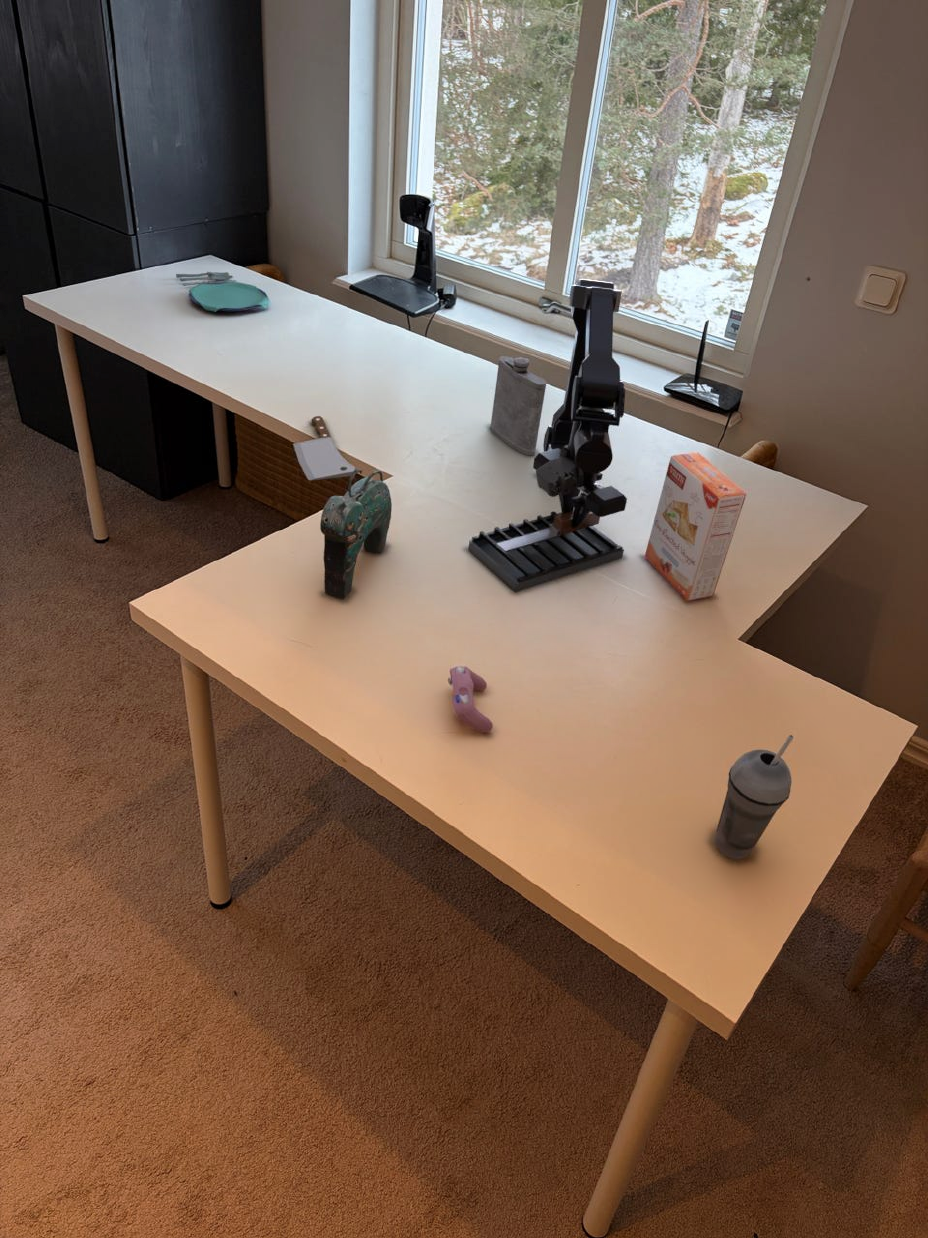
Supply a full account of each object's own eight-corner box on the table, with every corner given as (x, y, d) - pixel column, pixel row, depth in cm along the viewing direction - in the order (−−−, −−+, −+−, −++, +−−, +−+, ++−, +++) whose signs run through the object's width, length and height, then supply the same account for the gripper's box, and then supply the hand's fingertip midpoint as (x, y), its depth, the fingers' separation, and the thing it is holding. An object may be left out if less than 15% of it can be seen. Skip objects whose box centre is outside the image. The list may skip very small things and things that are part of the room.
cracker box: (641, 557, 170) (669, 453, 158) (669, 553, 172) (699, 450, 160) (685, 603, 160) (718, 495, 148) (714, 597, 163) (749, 491, 150)
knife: (590, 517, 171) (593, 504, 170) (599, 524, 170) (602, 511, 168) (496, 544, 161) (498, 530, 159) (505, 552, 159) (507, 538, 158)
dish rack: (573, 519, 178) (575, 504, 176) (622, 558, 169) (626, 543, 168) (467, 549, 166) (469, 534, 164) (515, 592, 158) (517, 577, 156)
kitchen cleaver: (283, 418, 196) (331, 414, 199) (283, 423, 197) (331, 418, 200) (305, 478, 179) (357, 472, 182) (306, 483, 179) (357, 477, 182)
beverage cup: (717, 813, 123) (762, 700, 111) (769, 842, 120) (822, 728, 108) (694, 848, 118) (739, 733, 106) (749, 878, 115) (801, 764, 103)
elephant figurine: (345, 607, 150) (349, 498, 137) (308, 596, 151) (309, 486, 139) (396, 546, 165) (403, 443, 153) (362, 536, 166) (367, 433, 154)
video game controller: (459, 694, 138) (441, 661, 134) (488, 684, 138) (471, 651, 134) (464, 743, 131) (446, 709, 127) (495, 732, 130) (478, 698, 126)
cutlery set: (203, 320, 236) (202, 310, 235) (168, 279, 256) (167, 270, 254) (279, 313, 245) (279, 304, 243) (239, 274, 265) (239, 265, 263)
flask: (523, 456, 196) (536, 374, 185) (484, 427, 205) (494, 347, 194) (537, 453, 198) (551, 372, 187) (498, 424, 207) (509, 344, 196)
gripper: (514, 428, 159) (502, 508, 169) (585, 479, 148) (568, 562, 157) (565, 417, 165) (551, 495, 174) (637, 465, 153) (618, 546, 163)
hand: (570, 523), depth 167 cm, fingers closed on knife, 2 cm apart
